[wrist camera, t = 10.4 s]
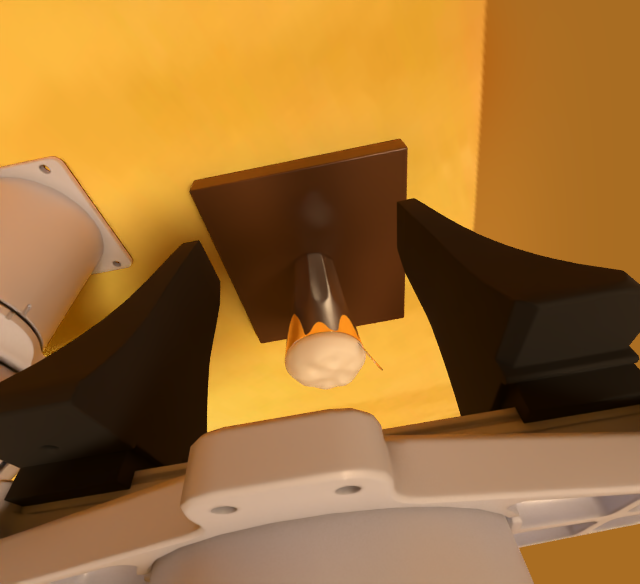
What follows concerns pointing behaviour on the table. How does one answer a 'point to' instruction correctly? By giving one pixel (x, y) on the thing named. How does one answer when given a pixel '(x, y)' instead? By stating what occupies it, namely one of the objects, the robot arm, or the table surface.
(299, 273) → the milkshake
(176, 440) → the robot arm
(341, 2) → the table surface
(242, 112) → the table surface
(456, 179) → the table surface
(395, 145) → the board
